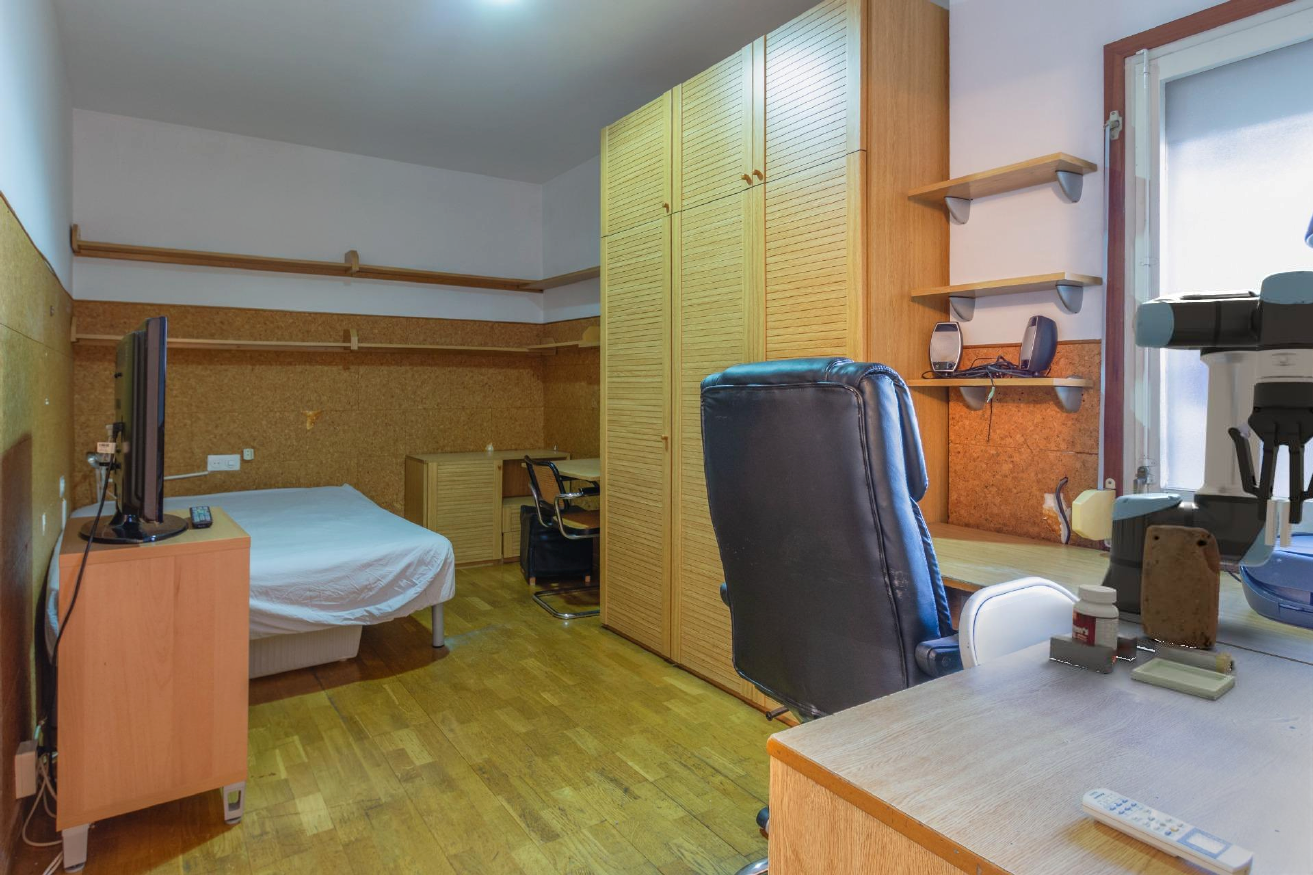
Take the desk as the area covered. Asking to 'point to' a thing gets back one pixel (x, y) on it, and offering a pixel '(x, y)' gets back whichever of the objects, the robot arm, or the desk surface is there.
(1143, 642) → the rail
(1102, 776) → the desk surface
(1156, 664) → the tray
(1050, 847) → the desk surface
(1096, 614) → the pill bottle
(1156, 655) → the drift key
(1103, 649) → the socket
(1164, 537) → the block
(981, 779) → the desk surface
